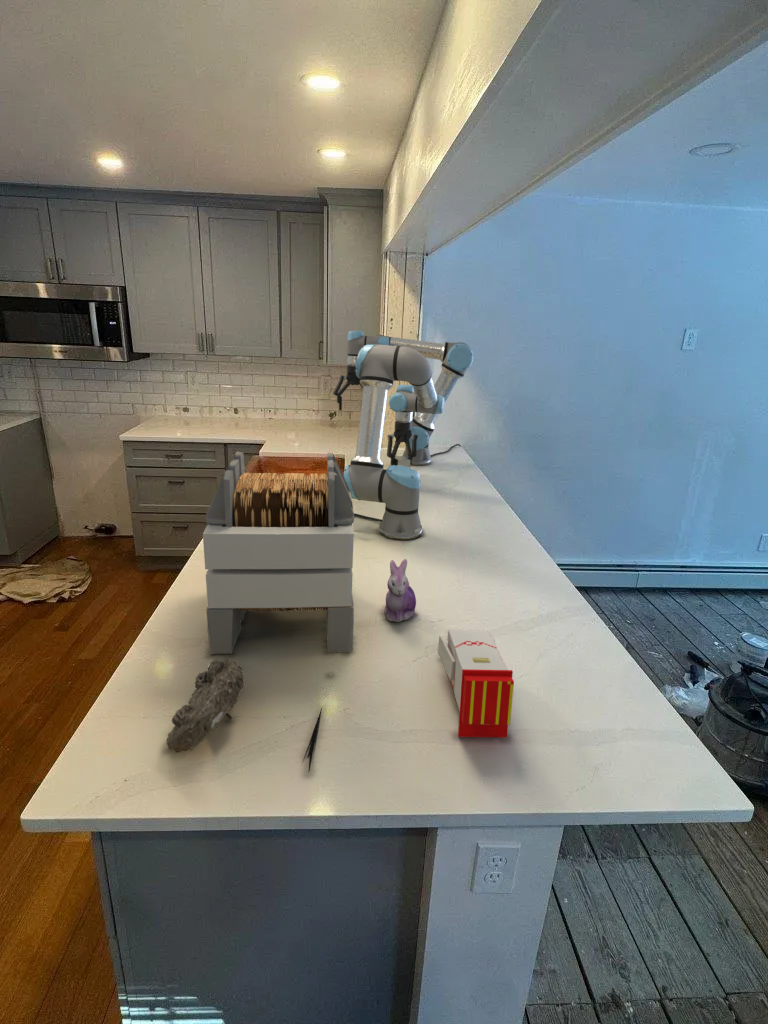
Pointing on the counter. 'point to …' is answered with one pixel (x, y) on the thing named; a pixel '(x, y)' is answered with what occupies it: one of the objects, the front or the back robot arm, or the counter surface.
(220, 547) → the record crate
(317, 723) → the feather
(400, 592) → the figurine
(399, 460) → the block
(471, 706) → the toy
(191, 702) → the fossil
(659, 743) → the counter surface
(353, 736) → the counter surface
